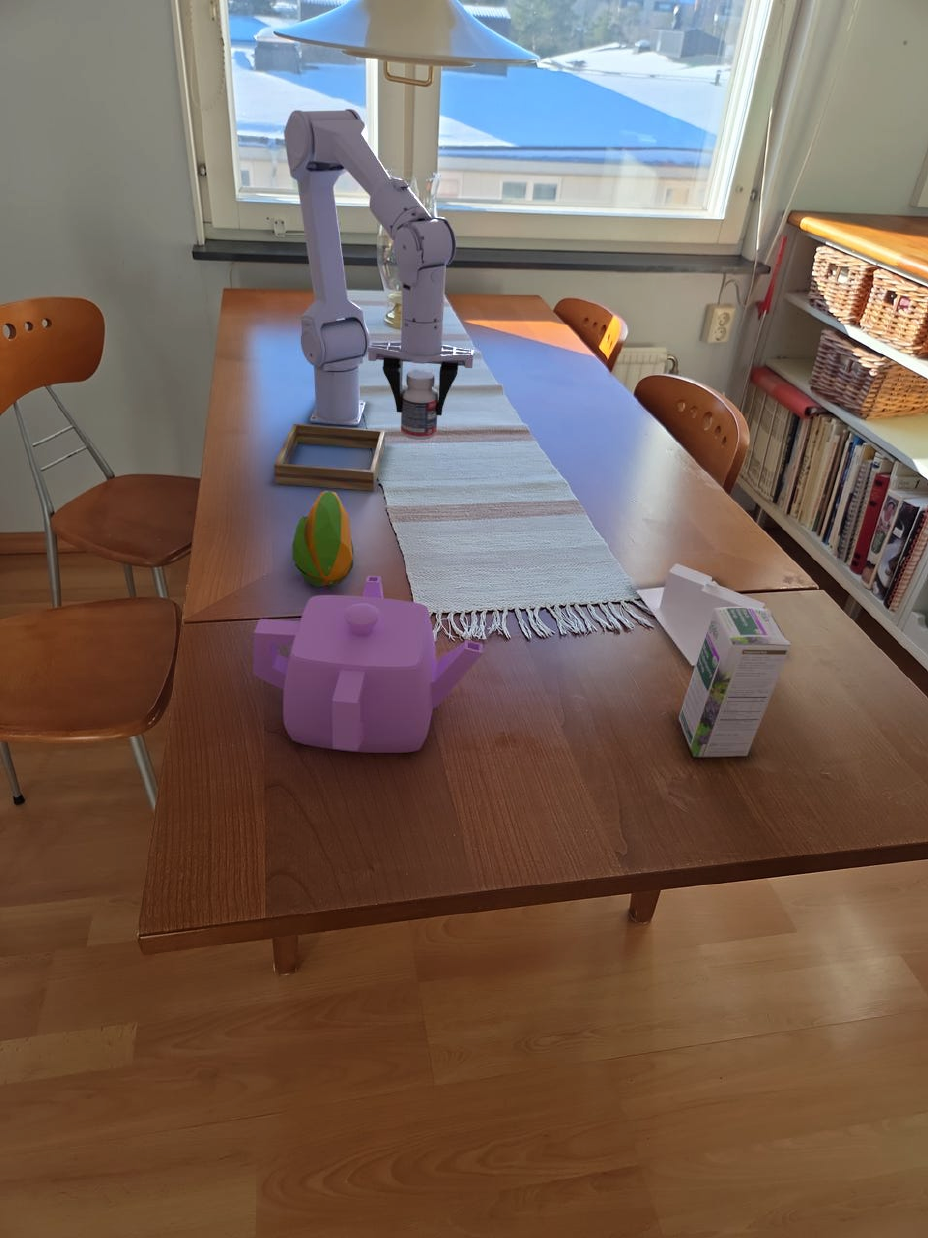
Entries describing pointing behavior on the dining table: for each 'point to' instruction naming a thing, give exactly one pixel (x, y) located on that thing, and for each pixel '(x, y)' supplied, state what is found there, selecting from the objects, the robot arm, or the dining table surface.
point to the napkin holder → (690, 606)
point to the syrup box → (732, 681)
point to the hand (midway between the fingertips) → (419, 411)
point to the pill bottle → (419, 406)
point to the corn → (324, 542)
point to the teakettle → (359, 671)
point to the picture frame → (327, 474)
